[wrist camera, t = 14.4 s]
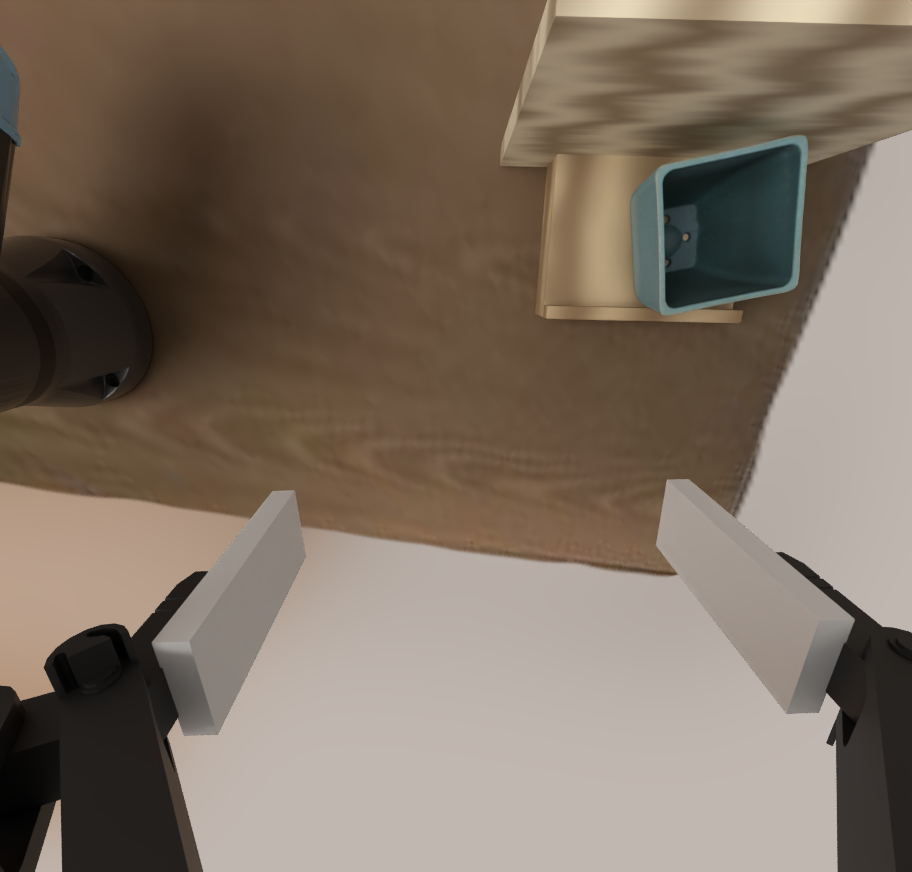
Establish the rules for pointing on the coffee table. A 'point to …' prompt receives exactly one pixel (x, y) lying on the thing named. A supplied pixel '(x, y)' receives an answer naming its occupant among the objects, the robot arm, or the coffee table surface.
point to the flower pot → (720, 227)
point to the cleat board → (686, 115)
